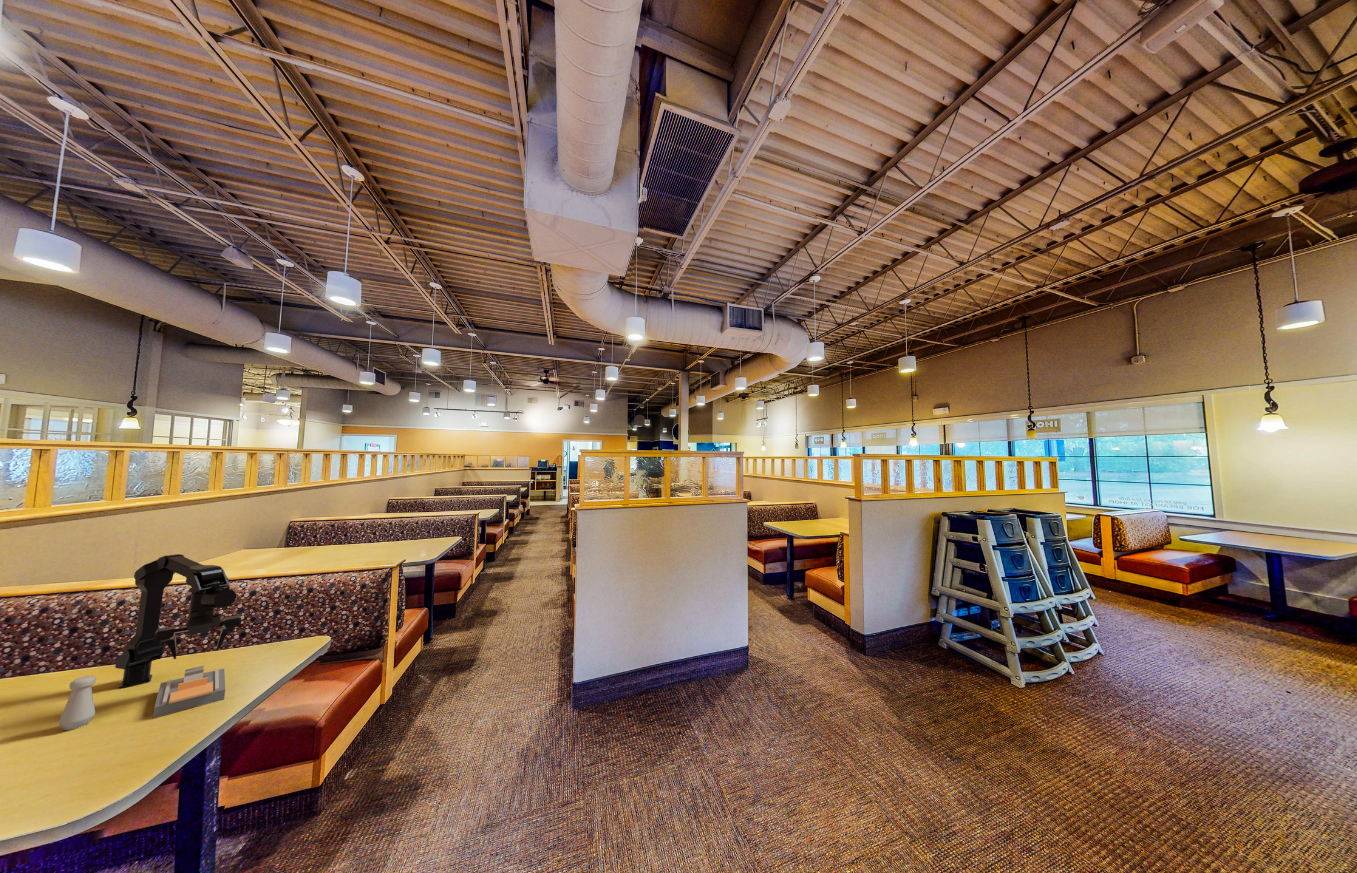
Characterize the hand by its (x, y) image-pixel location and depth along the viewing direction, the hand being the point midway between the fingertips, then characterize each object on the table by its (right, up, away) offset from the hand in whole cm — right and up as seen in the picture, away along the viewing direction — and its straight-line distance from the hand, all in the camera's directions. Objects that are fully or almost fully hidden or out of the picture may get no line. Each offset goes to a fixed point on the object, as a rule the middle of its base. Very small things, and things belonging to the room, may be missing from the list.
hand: (196, 654), depth 135 cm
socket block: (+3, -11, -4) cm, 12 cm away
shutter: (+9, -8, -9) cm, 14 cm away
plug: (0, -12, -1) cm, 12 cm away
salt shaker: (-10, -10, -20) cm, 25 cm away
